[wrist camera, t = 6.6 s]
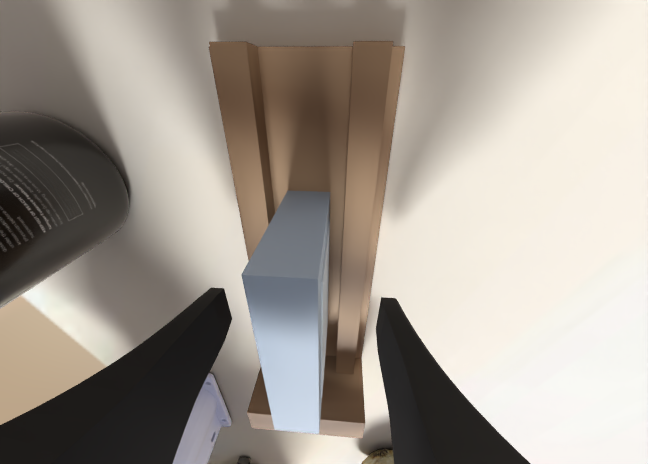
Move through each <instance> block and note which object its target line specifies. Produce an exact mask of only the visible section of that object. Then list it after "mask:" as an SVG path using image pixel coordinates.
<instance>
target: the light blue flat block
mask: <svg viewBox="0 0 648 464" xmlns="http://www.w3.org/2000/svg"><path fill="white" fill-rule="evenodd" d="M329 236H330V192H317V191H287V193H286V194H285V196H284V198H283V200H282V202H281V204H280V205H279V207H278V209H277V211H276V213H275V215H274V216H273V218H272V220H271V222H270V224H269V226H268V227H267V229H266V231H265V233H264V235H263V237H262V238H261V240H260V242H259V244H258V246H257V248H256V249H255V251H254V253H253V255H252V257H251V258H250V260H249V262H248V264H247V266H246V268H245V269H244V271H243V273H242V279H243V284H244V289H245V293H246V298H247V303H248V307H249V312H250V317H251V321H252V326H253V331H254V336H255V340H256V345H257V350H258V354H259V359H260V364H261V368H262V373H263V378H264V383H265V387H266V392H267V397H268V401H269V406H270V411H271V415H272V420H273V425H274V430H281V431H291V432H302V433H313V434H319V429H320V416H321V403H322V393H323V380H324V367H325V353H326V340H327V327H328V283H329Z"/></svg>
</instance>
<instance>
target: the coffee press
mask: <svg viewBox="0 0 648 464" xmlns="http://www.w3.org/2000/svg"><path fill="white" fill-rule="evenodd" d="M237 464H250V458H247V457H239V460H238V463H237Z"/></svg>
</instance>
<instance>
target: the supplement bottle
mask: <svg viewBox="0 0 648 464" xmlns="http://www.w3.org/2000/svg"><path fill="white" fill-rule="evenodd" d="M128 210H129V198H128V193H127V189H126V186H125V184H124V181H123V179H122V177H121V175H120V173H119V172H118V170H117V168H116V167H115V165H114V164H113V163H112V161H111V160H110V159H109V158H108V157H107V155H106V154H105V153H104V152H103V151H102V150H101V149H100V148H99V147H98V146H97V145H96V144H95V143H93V142H92V141H91V140H90V139H88V138H87V137H86V136H85V135H83V134H82V133H80V132H79V131H77V130H75V129H74V128H72V127H70V126H68V125H66V124H65V123H63V122H60V121H58V120H56V119H53V118H50V117H47V116H45V115H41V114H37V113H31V112H23V111H7V112H0V308H2V307H4V306H5V305H7V304H8V303H10V302H11V301H13V300H14V299H16V298H17V297H19V296H21V295H22V294H24V293H25V292H27V291H28V290H30V289H31V288H33V287H34V286H36V285H37V284H39V283H40V282H42V281H44V280H45V279H47V278H48V277H50V276H51V275H53V274H54V273H56V272H57V271H59V270H60V269H62V268H63V267H65V266H66V265H68V264H70V263H71V262H73V261H74V260H76V259H77V258H79V257H80V256H82V255H83V254H85V253H86V252H88V251H89V250H91V249H92V248H94V247H96V246H97V245H99V244H100V243H101V242H103V241H104V240H106V239H107V238H109V237H110V236H112V235H113V234H114V233H116V232H117V231H118V230H119V229H120V228H121V227H122V225H123V224H124V222H125V220H126V218H127V215H128Z"/></svg>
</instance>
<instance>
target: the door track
mask: <svg viewBox="0 0 648 464" xmlns="http://www.w3.org/2000/svg"><path fill="white" fill-rule="evenodd" d="M209 44H210V47H209V51H210V57H211V62H212V67H213V73H214V78H215V83H216V89H217V94H218V99H219V105H220V110H221V115H222V121H223V126H224V131H225V137H226V142H227V148H228V153H229V158H230V164H231V169H232V174H233V180H234V185H235V190H236V196H237V201H238V206H239V212H240V217H241V222H242V228H243V233H244V239H245V244H246V249H247V255H248V260H250V258H251V257H252V255H253V253H254V251H255V249H256V248H257V246H258V244H259V242H260V240H261V238H262V237H263V235H264V233H265V231H266V229H267V227H268V226H269V224H270V222H271V220H272V218H273V216H274V215H275V213H276V211H277V209H278V207H279V205H280V204H281V202H282V200H283V198H284V196H285V194H286V193H287V191H317V192H330V236H329V283H328V327H327V340H326V353H325V367H324V380H323V393H322V403H321V416H320V429H319V434H320V435H331V436H341V437H352V438H362V437H363V432H364V427H365V412H364V395H363V377H362V360H361V357H362V350H363V343H364V336H365V329H366V322H367V315H368V307H369V300H370V293H371V286H372V279H373V272H374V265H375V257H376V250H377V243H378V236H379V229H380V222H381V215H382V208H383V200H384V193H385V186H386V179H387V172H388V165H389V158H390V150H391V143H392V136H393V129H394V122H395V115H396V108H397V101H398V93H399V86H400V79H401V72H402V65H403V58H404V51H405V46H393V41H354V42H353V46H333V47H257V46H255V45H252V44H250V43H248V42H209ZM247 415H248V418H249V421H250V424H251V427H252V428H256V429H267V430H274V425H273V420H272V415H271V411H270V406H269V401H268V397H267V392H266V387H265V383H264V378H263V373H262V368H260V371H259V374H258V378H257V381H256V384H255V388H254V391H253V394H252V398H251V401H250V404H249V408H248V411H247ZM277 431H281V430H277ZM288 432H291V431H288ZM299 433H302V432H299ZM309 434H313V433H309Z"/></svg>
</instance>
